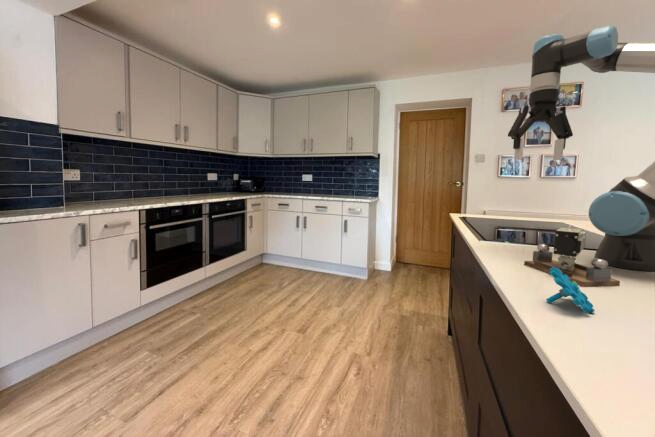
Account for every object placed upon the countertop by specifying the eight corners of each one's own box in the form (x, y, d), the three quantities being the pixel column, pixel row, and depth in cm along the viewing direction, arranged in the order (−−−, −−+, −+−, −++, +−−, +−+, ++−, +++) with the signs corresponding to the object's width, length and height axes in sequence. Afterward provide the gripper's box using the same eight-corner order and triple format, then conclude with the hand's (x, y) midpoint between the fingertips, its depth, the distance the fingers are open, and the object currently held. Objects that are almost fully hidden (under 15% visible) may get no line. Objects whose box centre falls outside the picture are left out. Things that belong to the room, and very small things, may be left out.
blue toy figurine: (594, 314, 53) (550, 266, 58) (562, 328, 57) (523, 282, 62) (601, 305, 61) (562, 263, 66) (572, 318, 64) (537, 278, 69)
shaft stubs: (546, 260, 91) (547, 243, 90) (610, 281, 72) (612, 260, 72) (532, 260, 91) (534, 243, 90) (593, 281, 72) (595, 260, 71)
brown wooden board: (553, 264, 91) (554, 257, 91) (619, 285, 73) (620, 276, 72) (524, 264, 91) (524, 257, 90) (582, 286, 72) (583, 278, 72)
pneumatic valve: (550, 272, 79) (554, 227, 78) (559, 263, 87) (563, 222, 86) (577, 276, 75) (582, 229, 74) (583, 267, 84) (588, 224, 82)
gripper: (570, 95, 100) (563, 160, 102) (498, 93, 97) (494, 160, 100) (592, 88, 92) (584, 159, 95) (515, 86, 90) (509, 158, 93)
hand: (538, 159), depth 97 cm, fingers open, 13 cm apart
